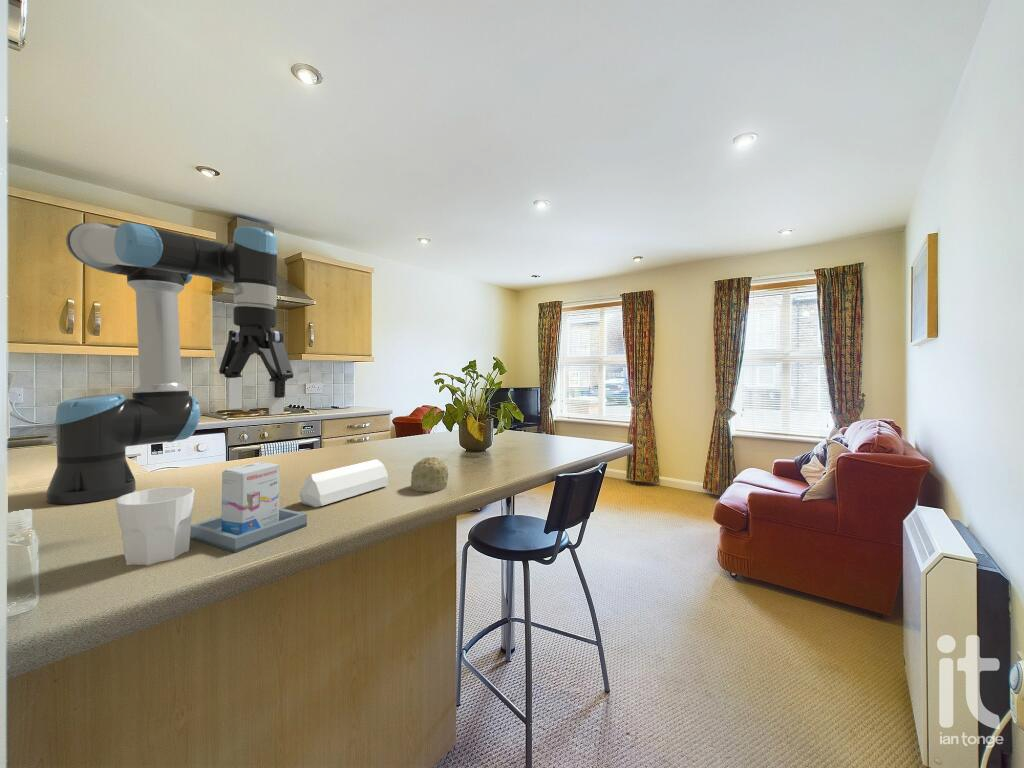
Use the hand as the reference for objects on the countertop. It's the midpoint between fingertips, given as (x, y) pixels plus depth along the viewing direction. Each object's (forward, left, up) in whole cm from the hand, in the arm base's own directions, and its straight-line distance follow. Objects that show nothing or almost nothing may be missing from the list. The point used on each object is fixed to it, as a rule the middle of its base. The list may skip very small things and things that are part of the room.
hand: (254, 411), depth 90 cm
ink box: (+8, -6, -21) cm, 24 cm away
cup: (+4, -19, -22) cm, 29 cm away
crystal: (+5, +20, -22) cm, 30 cm away
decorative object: (+19, +35, -22) cm, 45 cm away
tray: (+8, -6, -22) cm, 24 cm away
